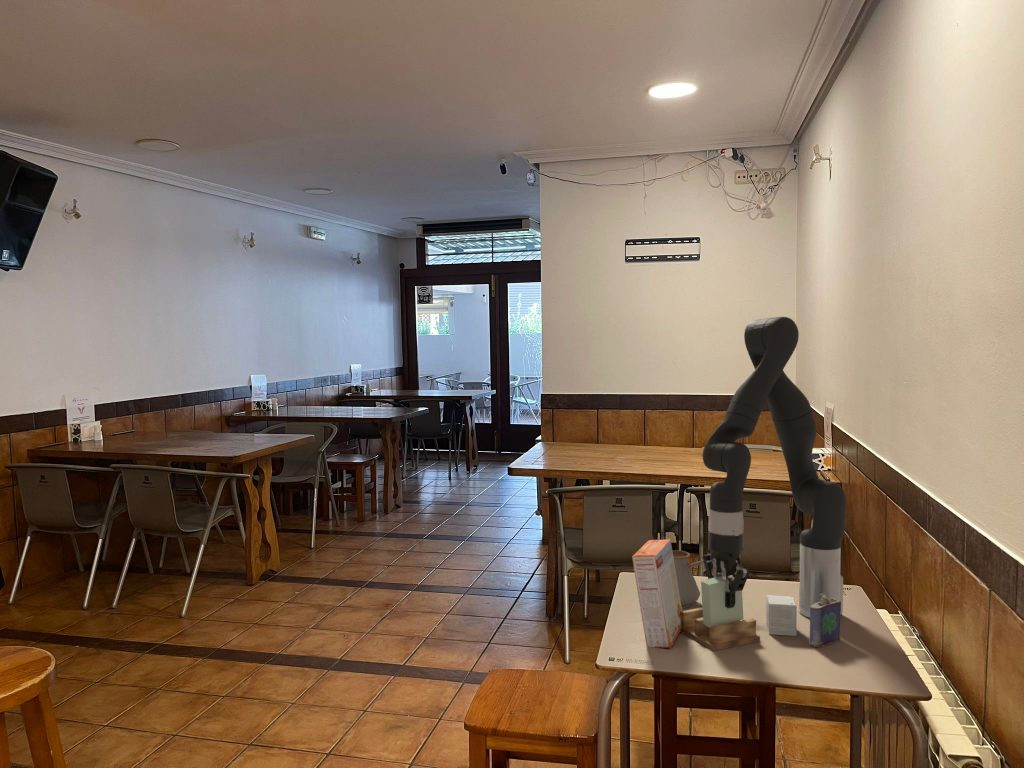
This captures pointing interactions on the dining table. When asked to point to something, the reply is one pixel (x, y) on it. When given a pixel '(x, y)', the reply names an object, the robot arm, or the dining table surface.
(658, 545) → the cracker box
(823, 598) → the flask
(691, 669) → the dining table surface
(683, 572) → the coffee pot
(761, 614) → the dining table surface
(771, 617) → the product box
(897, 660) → the dining table surface
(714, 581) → the sage green tall prism
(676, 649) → the dining table surface
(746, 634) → the rack
